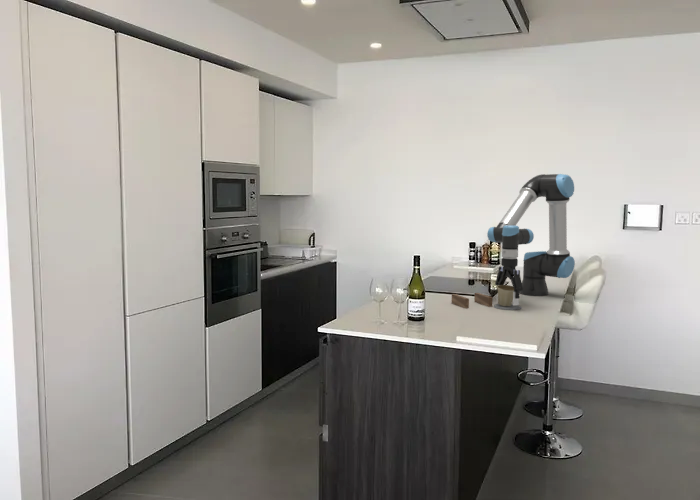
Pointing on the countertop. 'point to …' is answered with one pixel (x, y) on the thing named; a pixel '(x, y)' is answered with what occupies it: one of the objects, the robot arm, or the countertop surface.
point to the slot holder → (478, 298)
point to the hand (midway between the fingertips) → (507, 302)
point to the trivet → (508, 307)
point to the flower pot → (505, 295)
